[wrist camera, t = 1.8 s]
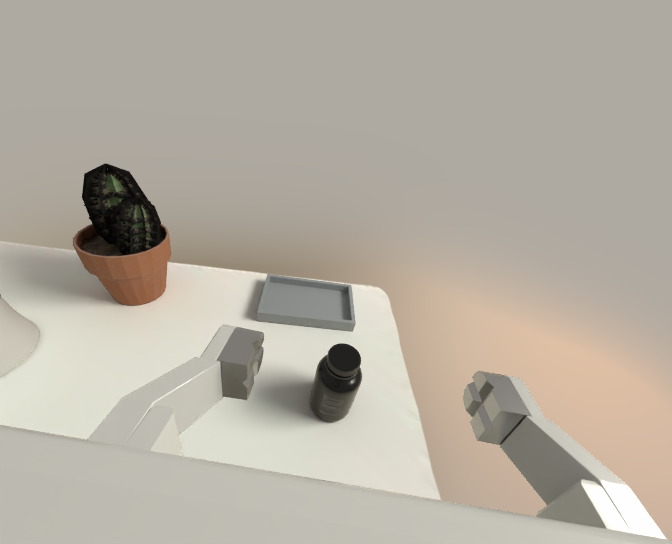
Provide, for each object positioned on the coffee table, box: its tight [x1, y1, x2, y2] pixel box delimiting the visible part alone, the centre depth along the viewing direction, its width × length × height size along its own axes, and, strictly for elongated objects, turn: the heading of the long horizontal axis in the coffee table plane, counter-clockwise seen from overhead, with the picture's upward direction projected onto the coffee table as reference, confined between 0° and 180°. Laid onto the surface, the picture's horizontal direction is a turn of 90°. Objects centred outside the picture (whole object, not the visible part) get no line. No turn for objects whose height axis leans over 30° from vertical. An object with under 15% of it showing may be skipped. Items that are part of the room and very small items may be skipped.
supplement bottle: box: [310, 344, 362, 422], centre depth 42 cm, size 7×7×12 cm
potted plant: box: [73, 164, 171, 305], centre depth 49 cm, size 14×14×25 cm
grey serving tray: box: [257, 274, 355, 331], centre depth 61 cm, size 20×12×2 cm, turn 91°
